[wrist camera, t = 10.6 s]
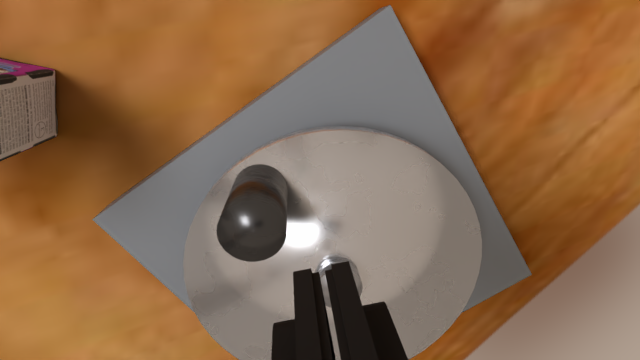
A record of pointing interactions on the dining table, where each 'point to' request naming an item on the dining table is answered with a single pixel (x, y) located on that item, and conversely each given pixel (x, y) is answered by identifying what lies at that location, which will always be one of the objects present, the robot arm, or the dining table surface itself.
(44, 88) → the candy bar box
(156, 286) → the dining table surface
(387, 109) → the grey base block
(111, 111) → the dining table surface
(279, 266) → the handwheel
